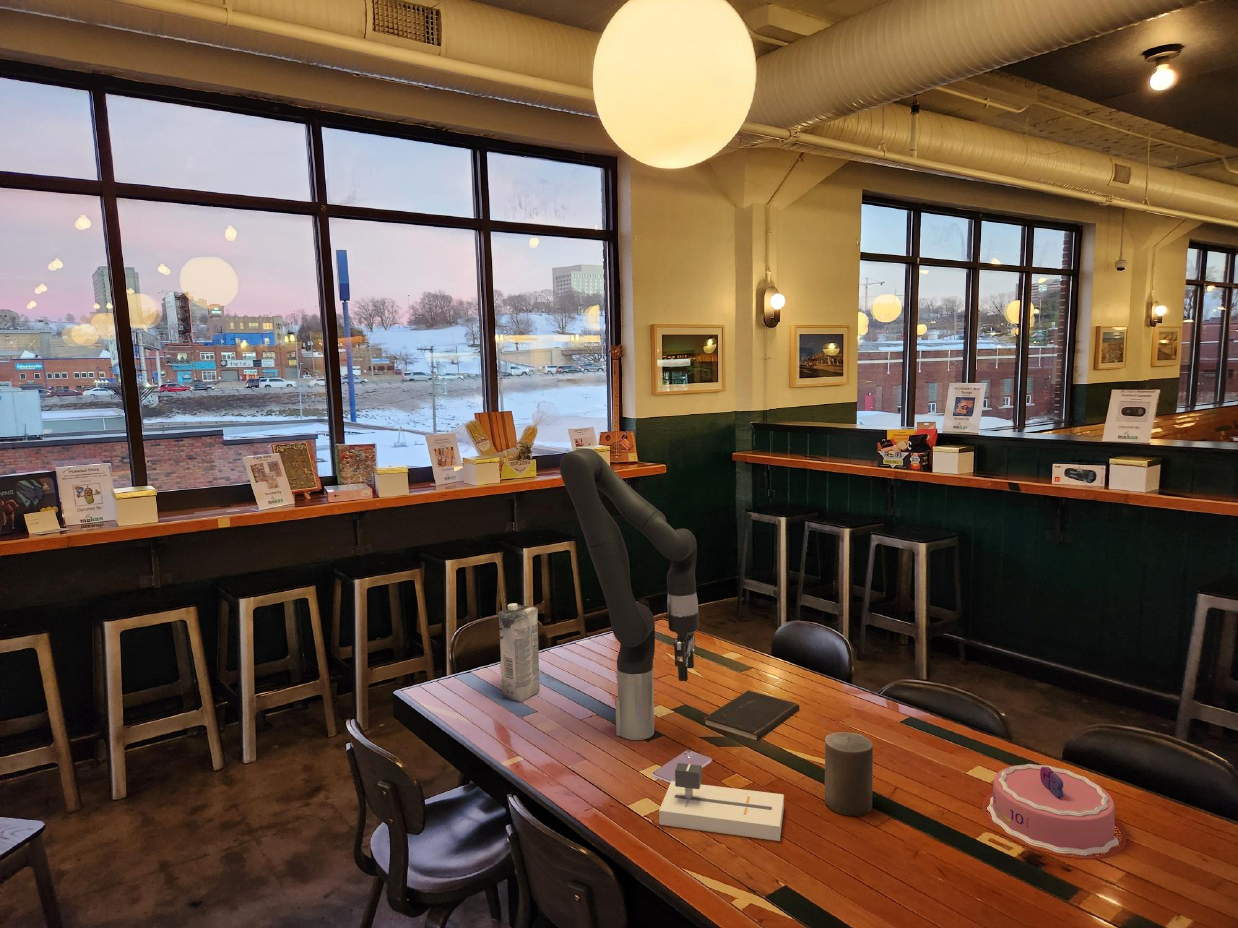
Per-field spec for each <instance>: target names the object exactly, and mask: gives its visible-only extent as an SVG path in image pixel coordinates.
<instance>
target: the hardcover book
mask: <svg viewBox="0 0 1238 928" xmlns="http://www.w3.org/2000/svg"><path fill="white" fill-rule="evenodd" d="M799 711H800V704H799V703H797V702H793V701H789V700H786V699H782V698H779V697H774V696H771V695H767V694H763V693H759V692H757V691H753V690H749V689H748V690H747V691H745V692H744V693H741V694H740V695H739V696H737V697H735V698H734V699H732V700H731V701H729V702H727V703H726V704H724V705H722V706H720V707H719V708H718V709H715V711H714V710H713V711H712V712H711V713H709V714H707V716H705V717H703V720H704V722H705V725H706V726H710V727H712V728H715V729H719V730H722V731H726V732H728V733H731V734H735V735H738V736H741V737H744V738H747V739H750V740H754V741H756V742H759V740H761V739H762V738H763V737H765V736H767V735H768V734H769V733H771V732H772V731H774V729H776V728H777V727H779V726H780V725H781V724H783V723H784V722H785V721H787V720H788V719H789V718H791V717H792V716H794V715H795V714H796V713H798V712H799Z"/></svg>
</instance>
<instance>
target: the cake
mask: <svg viewBox="0 0 1238 928" xmlns="http://www.w3.org/2000/svg"><path fill="white" fill-rule="evenodd" d="M992 784H993V786H992V792H991V793H989V794H988V795H986V796H985V798H984V800H983V802H982V804H983V805H982V804H981V805H982V806H981V810H983V811H982V814H983V813H984V814H983V816H984V818H985V819H986V821H987V822H988V824H990V826H992V827H993V828H994V827H995V828H996V829H997V830H998V831H997V830H996V829H995V828H994V829H995V830H996V831H997V832H999V831H1000V832H1001V833H1003V834H1004V835H1005V836H1004V835H1003V834H1002V835H1003V836H1004V837H1006V836H1008V835H1007V834H1006V833H1008V834H1010V835H1012V836H1014V837H1017V838H1019V839H1021V840H1023V841H1025V842H1026V844H1024V843H1022V842H1020V841H1017V840H1015V839H1014V838H1012V837H1010V836H1008V837H1009V838H1011V839H1013V840H1015V841H1016V842H1015V841H1014V842H1015V843H1017V842H1018V843H1017V844H1018V845H1019V844H1020V845H1021V844H1022V846H1023V845H1025V846H1024V847H1026V846H1027V847H1026V848H1028V847H1029V848H1028V849H1031V848H1032V849H1031V850H1033V849H1035V850H1034V851H1036V850H1039V851H1041V852H1040V853H1043V852H1044V853H1043V854H1046V853H1048V854H1047V855H1051V856H1054V855H1055V857H1059V858H1064V857H1065V859H1071V858H1073V859H1072V860H1084V859H1087V860H1088V861H1089V860H1100V859H1105V858H1110V857H1113V856H1115V855H1117V854H1119V853H1120V852H1122V850H1124V848H1125V847H1124V846H1126V844H1127V838H1126V837H1127V836H1126V833H1125V830H1124V828H1123V827H1122V826H1121V824H1120V823H1119V822H1118V821H1117V819H1116V817H1115V816H1116V813H1115V812H1116V810H1115V809H1116V808H1115V802H1114V799H1113V798H1112V796H1111V795H1110V794H1109V792H1107V791H1106V790H1105V789H1104V788H1103V787H1101V786H1100V785H1099V784H1097V783H1096V782H1094V781H1093V780H1090V779H1088V778H1087V777H1086V776H1083V775H1080V774H1078V773H1077V774H1076V773H1075V772H1072V771H1071V770H1068V769H1064V768H1058V767H1055V766H1050V765H1046V764H1043V765H1039V764H1033V763H1027V764H1019V765H1012V766H1009V767H1005V768H1003V769H1001V770H999V771H998V772H997V773H996V774H995V776H994V778H993V783H992ZM988 800H990V802H988V803H990V804H988V805H989V806H988V807H987V810H988V811H989V812H990V814H991V815H990V816H992V817H988V815H986V814H987V812H986V809H984V808H985V805H986V803H987V802H986V801H988ZM989 812H988V813H989ZM990 818H992V820H990ZM992 821H993V822H992ZM994 823H995V824H998V825H999V826H1001V827H1002V828H1003V829H1004V830H1005V832H1006V833H1004V832H1002V831H1001V830H999V828H997V825H994ZM1114 826H1116V827H1118V828H1114ZM1114 829H1119V830H1114ZM1114 831H1115V832H1116V831H1117V832H1118V833H1114ZM1119 831H1120V832H1121V833H1119ZM1000 832H999V833H1000ZM1001 833H1000V834H1001ZM1114 834H1118V835H1114ZM1119 834H1121V835H1119ZM1115 836H1120V837H1121V836H1122V838H1121V839H1122V840H1121V841H1119V840H1120V839H1119V838H1118V839H1117V838H1116V837H1115ZM1008 837H1007V838H1008ZM1009 838H1008V839H1009ZM1011 839H1010V840H1011ZM1013 840H1012V841H1013ZM1027 843H1028V844H1030V845H1032V846H1036V847H1042V848H1045V849H1048V850H1051V851H1053V852H1056V853H1060V854H1056V853H1051V852H1049V851H1048V852H1047V851H1043V850H1040V849H1041V848H1040V849H1037V848H1034V847H1031V846H1029V845H1027ZM1117 845H1120V846H1117ZM1116 846H1117V847H1116ZM1039 851H1038V852H1039ZM1094 853H1099V854H1094ZM1101 853H1102V854H1101ZM1103 853H1105V854H1103ZM1062 854H1065V855H1062ZM1072 854H1074V856H1068V855H1072ZM1075 854H1077V855H1078V856H1077V855H1075ZM1091 854H1092V855H1091ZM1087 855H1088V856H1087ZM1090 855H1091V856H1090ZM1096 855H1099V856H1096ZM1098 858H1099V859H1098Z"/></svg>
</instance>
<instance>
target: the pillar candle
mask: <svg viewBox="0 0 1238 928" xmlns="http://www.w3.org/2000/svg"><path fill="white" fill-rule="evenodd" d="M824 743H825V745H824V747H825V748H824V803H825V805H826V806H827V807H828V808H829V809H830V810H831V811H833V812H835V813H837V814H840V815H843V816H849V817H850V816H851V817H860V816H861V817H862V816H865V815H867V814H869V813H870V812H871V811H872V809H873V772H874V771H873V768H874V767H873V761H874V759H873V754H874V753H873V751H874V749H873V748H874V747H873V746H874V745H873V742H872V741H871V740H870V739H869V738H867V737H866V736H864V735H863V734H859V733H855V732H848V731H847V732H846V731H845V732H843V731H840V732H833V733H829V734H827V735H826V736H825V739H824Z"/></svg>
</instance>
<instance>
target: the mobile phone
mask: <svg viewBox="0 0 1238 928" xmlns="http://www.w3.org/2000/svg"><path fill="white" fill-rule="evenodd" d="M712 761H713V760H712V758H711V757H709V756H707V755H704V754H701V753H699V752H696V751H693V750H685V751H683V752H682V753H681V754H678V756H676V757H674V758H673V759H671V760H669V761H668V762H667V763H665V764H664V765H662V766H661V767H659V768H657V769H656V770H654V771H653V772H652V773H651V775H652V777H653V778H655V779H658V780H661V781H663V782H665V783H668V784H670V783H671V781H675V769H676V767H677V764H678V763H683V764H692V765H701V766H702V769H703V768H704V767H706V766H708V765H710V763H711V762H712Z"/></svg>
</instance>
